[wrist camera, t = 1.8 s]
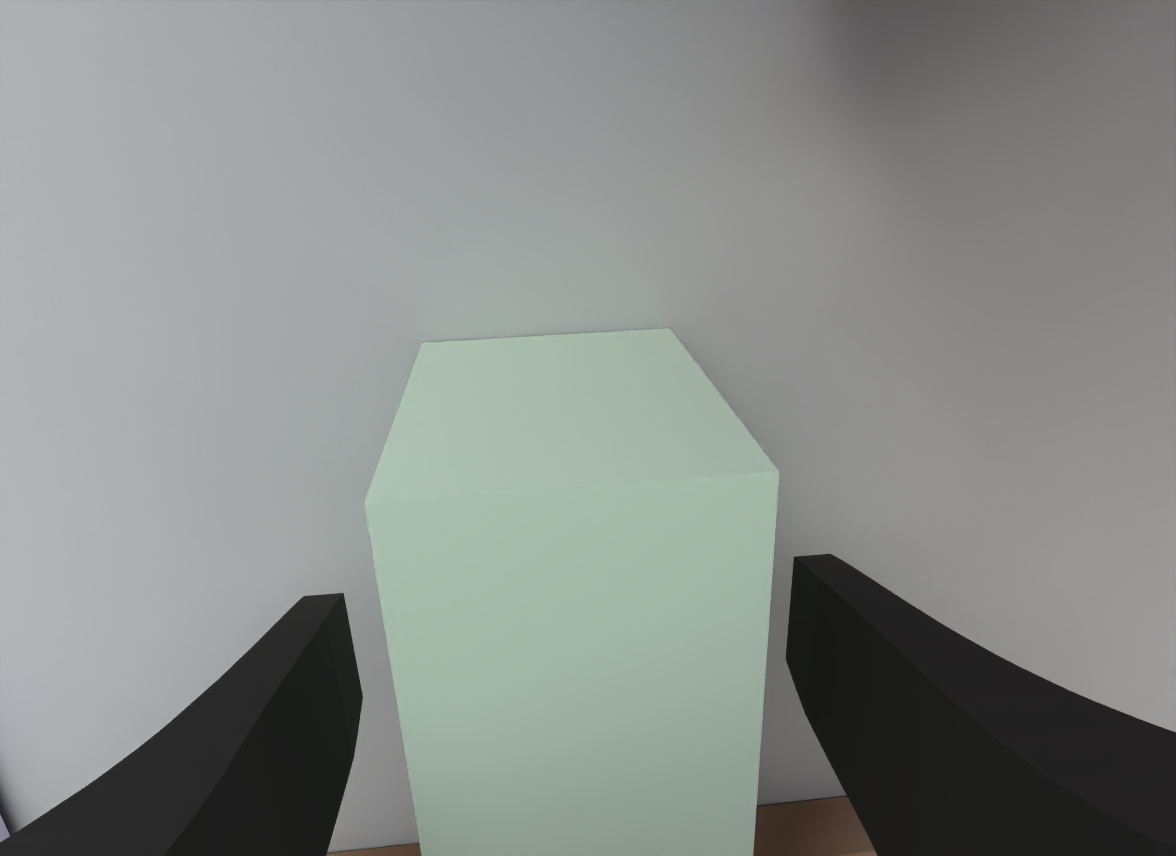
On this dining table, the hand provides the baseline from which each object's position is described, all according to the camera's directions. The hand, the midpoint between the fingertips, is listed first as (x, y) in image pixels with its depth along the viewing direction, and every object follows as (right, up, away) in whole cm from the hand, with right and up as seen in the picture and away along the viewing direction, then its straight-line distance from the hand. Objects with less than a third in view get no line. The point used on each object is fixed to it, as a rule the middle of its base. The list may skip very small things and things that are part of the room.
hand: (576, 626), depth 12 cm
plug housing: (0, +1, +3) cm, 3 cm away
